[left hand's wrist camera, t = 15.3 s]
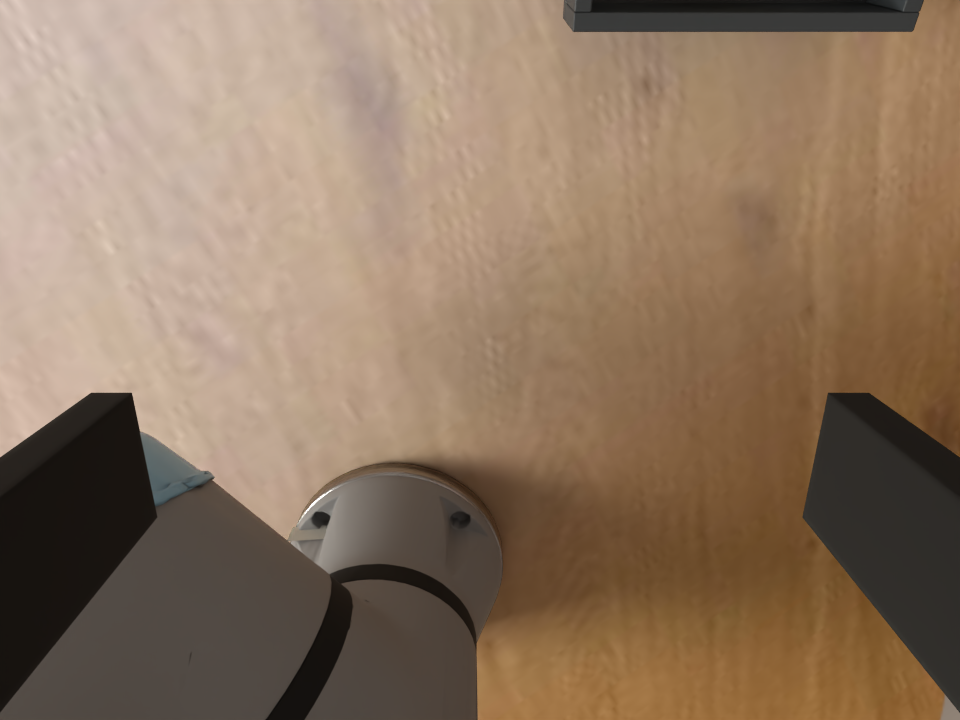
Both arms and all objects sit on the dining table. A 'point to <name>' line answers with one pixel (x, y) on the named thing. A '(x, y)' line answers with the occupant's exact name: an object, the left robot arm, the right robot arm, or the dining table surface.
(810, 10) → the tray
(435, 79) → the dining table surface
